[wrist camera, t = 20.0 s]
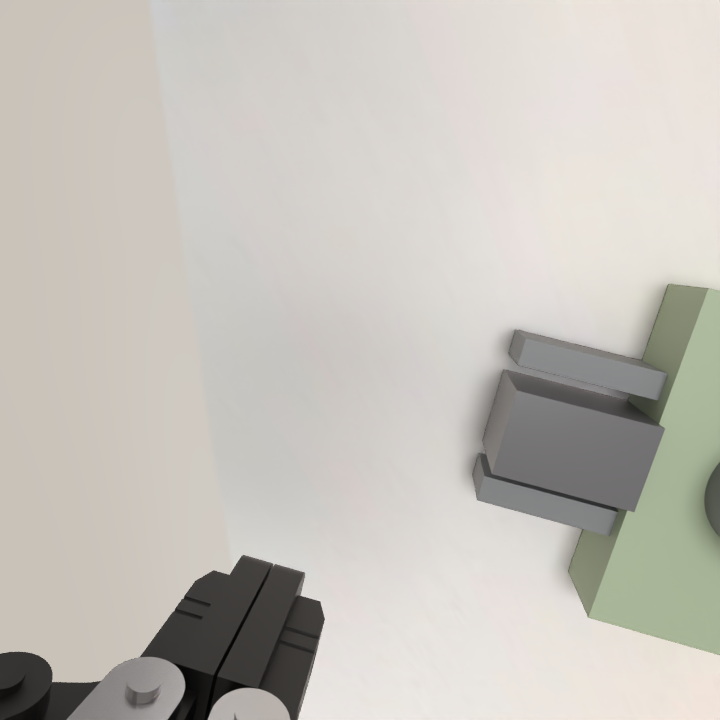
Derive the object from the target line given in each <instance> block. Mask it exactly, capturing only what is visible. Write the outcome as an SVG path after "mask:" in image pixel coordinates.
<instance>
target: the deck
mask: <svg viewBox="0 0 720 720" xmlns="http://www.w3.org/2000/svg"><path fill="white" fill-rule="evenodd" d="M509 355H510V356H511V357H512V358H513V360H514V361H515V362H516V363H517V365H519V366H523V367H527V368H531V369H535V370H539V371H543V372H547V373H551V374H555V375H559V376H563V377H567V378H571V379H575V380H579V381H582V382H586V383H590V384H594V385H598V386H602V387H606V388H610V389H614V390H618V391H622V392H626V393H630V396H629V399H628V401H629V402H630V403H631V404H633V405H634V406H636V407H637V408H638V409H640V410H641V411H642V412H644V413H645V414H646V415H648V416H649V417H650V418H652V419H653V420H654V421H656V422H657V423H658V424H660V425H661V426H663V427H664V428H665V431H664V433H663V436H662V439H661V441H660V444H659V447H658V450H657V452H656V455H655V458H654V460H653V463H652V466H651V469H650V471H649V474H648V477H647V479H646V482H645V485H644V488H643V490H642V493H641V496H640V498H639V501H638V504H637V507H636V509H635V512H631V511H627V510H623V509H620V508H616V507H612V506H609V505H605V504H601V503H597V502H594V501H590V500H586V499H583V498H579V497H575V496H571V495H568V494H564V493H560V492H557V491H553V490H549V489H545V488H542V487H538V486H534V485H531V484H527V483H523V482H519V481H516V480H512V479H508V478H505V477H501V476H497V475H493V474H492V473H491V470H490V466H489V462H488V459H487V455H484V454H480V453H479V455H478V458H477V461H476V465H475V468H474V471H473V480H474V486H475V491H476V497H477V500H478V501H482V502H486V503H489V504H493V505H497V506H500V507H504V508H508V509H511V510H515V511H519V512H522V513H526V514H530V515H533V516H537V517H541V518H544V519H548V520H552V521H555V522H559V523H563V524H566V525H570V526H574V527H577V528H581V529H583V530H582V533H581V536H580V539H579V542H578V545H577V548H576V551H575V553H574V556H573V559H572V562H571V565H570V568H569V571H568V572H569V574H570V576H571V579H572V581H573V583H574V586H575V588H576V590H577V593H578V595H579V597H580V600H581V602H582V604H583V607H584V609H585V611H586V613H587V616H588V618H591V619H595V620H598V621H602V622H605V623H609V624H612V625H616V626H619V627H623V628H626V629H630V630H633V631H637V632H640V633H644V634H647V635H651V636H654V637H658V638H661V639H665V640H668V641H672V642H675V643H679V644H682V645H686V646H689V647H693V648H696V649H700V650H703V651H707V652H710V653H714V654H717V655H720V291H717V290H713V289H709V288H700V287H691V286H683V285H674V284H668V287H667V290H666V293H665V296H664V299H663V302H662V304H661V307H660V310H659V313H658V316H657V319H656V322H655V325H654V327H653V330H652V333H651V336H650V339H649V342H648V345H647V347H646V350H645V353H644V356H643V359H642V360H638V359H633V358H629V357H625V356H621V355H617V354H613V353H609V352H605V351H601V350H597V349H593V348H589V347H585V346H581V345H577V344H573V343H569V342H565V341H561V340H557V339H552V338H548V337H544V336H540V335H536V334H532V333H528V332H524V331H520V330H515V333H514V337H513V340H512V343H511V347H510V350H509Z"/></svg>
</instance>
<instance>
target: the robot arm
mask: <svg viewBox="0 0 720 720" xmlns="http://www.w3.org/2000/svg"><path fill="white" fill-rule="evenodd" d="M304 578H305V573H304V572H301V571H297V570H294V569H290V568H287V567H283V566H280V565H277V564H275V565H274V566H273V563H269V562H266V561H262V560H259V559H255V558H252V557H249V556H245V555H243V556H242V557H241V558H240V560H239V561H238V563H237V564H236V566H235V567H234V569H233V571H232V572H231V574H230V575H227V574H224V573H221V572H217V571H212V572H210V573H209V574H207V575H205V576H203V577H202V578H200V579H198V580H197V581H195V583H194V584H193V585H192V587H191V588H190V589H189V591H188V592H187V593H186V595H185V596H184V599H182V600H181V602H180V603H179V604H178V606H177V607H176V609H175V611H174V612H173V613H172V614H171V615H170V617H169V618H168V620H167V621H166V622H165V624H164V625H163V626H162V628H161V629H160V630H159V632H158V633H157V634H156V636H155V637H154V639H153V640H152V641H151V643H150V644H149V645H148V647H147V648H146V650H145V651H144V652H143V654H142V655H141V656H140V657H139V658H134V659H131V660H128V661H125V662H123V663H121V664H119V665H118V666H116V667H115V668H114V669H112V670H111V671H110V672H109V673H108V674H107V675H106V676H105V678H104V679H103V680H102V681H99V682H92V683H66V682H65V683H63V682H52V670H51V667H50V665H49V664H48V662H46V661H45V660H44V659H43V658H41V657H40V656H38V655H35V654H32V653H26V652H8V653H2V654H0V720H298V717H299V713H300V710H301V707H302V703H303V700H304V696H305V693H306V689H307V686H308V683H309V679H310V676H311V672H312V668H313V664H314V660H315V656H316V652H317V648H318V644H319V640H320V636H321V632H322V628H323V624H324V620H325V618H324V615H323V611H322V607H321V603H320V602H319V601H316V600H313V599H309V598H306V597H302V596H300V595H301V591H302V586H303V582H304Z"/></svg>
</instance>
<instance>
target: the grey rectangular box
mask: <svg viewBox="0 0 720 720" xmlns="http://www.w3.org/2000/svg"><path fill="white" fill-rule="evenodd" d="M664 431H665V428H664V427H663V426H661V425H660V424H658V423H657V422H656V421H654V420H653V419H652V418H650V417H649V416H648V415H646V414H645V413H644V412H642V411H641V410H640V409H638V408H637V407H636V406H634V405H633V404H631V403H630V402H629V401H627V400H623V399H619V398H615V397H612V396H608V395H604V394H600V393H596V392H592V391H588V390H584V389H580V388H576V387H572V386H568V385H564V384H560V383H556V382H552V381H548V380H544V379H541V378H537V377H533V376H529V375H525V374H521V373H517V372H513V371H509V370H505V369H504V370H503V373H502V376H501V380H500V383H499V386H498V390H497V393H496V396H495V400H494V403H493V407H492V410H491V413H490V417H489V420H488V423H487V427H486V430H485V434H484V437H483V444H484V448H485V451H486V455H487V459H488V462H489V466H490V470H491V473H492V474H493V475H497V476H501V477H505V478H508V479H512V480H516V481H519V482H523V483H527V484H531V485H534V486H538V487H542V488H545V489H549V490H553V491H557V492H560V493H564V494H568V495H571V496H575V497H579V498H583V499H586V500H590V501H594V502H597V503H601V504H605V505H609V506H612V507H616V508H620V509H623V510H627V511H631V512H635V509H636V507H637V504H638V501H639V498H640V496H641V493H642V490H643V488H644V485H645V482H646V479H647V477H648V474H649V471H650V469H651V466H652V463H653V460H654V458H655V455H656V452H657V450H658V447H659V444H660V441H661V439H662V436H663V433H664Z"/></svg>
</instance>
